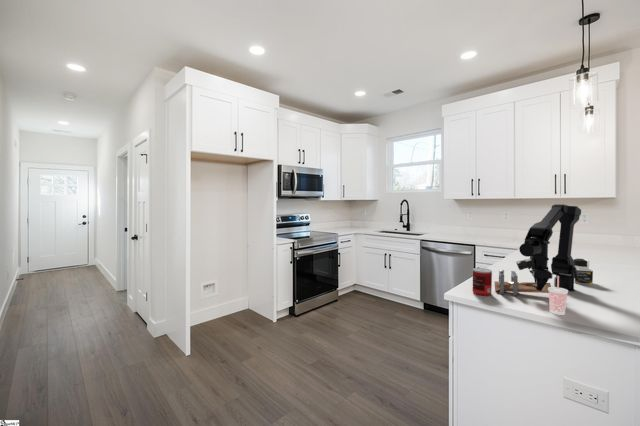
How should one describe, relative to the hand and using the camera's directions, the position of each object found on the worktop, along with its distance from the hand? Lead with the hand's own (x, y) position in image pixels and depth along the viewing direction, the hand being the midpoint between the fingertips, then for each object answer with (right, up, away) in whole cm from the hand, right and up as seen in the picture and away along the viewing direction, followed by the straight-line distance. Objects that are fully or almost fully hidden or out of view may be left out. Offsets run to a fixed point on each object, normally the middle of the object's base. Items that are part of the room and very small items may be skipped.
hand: (538, 289), depth 132 cm
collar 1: (-13, -3, +7) cm, 15 cm away
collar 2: (-8, -3, +5) cm, 10 cm away
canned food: (-23, -3, +4) cm, 23 cm away
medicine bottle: (+37, -2, +20) cm, 42 cm away
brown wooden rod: (-5, -2, +3) cm, 6 cm away
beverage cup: (-7, -4, -19) cm, 20 cm away
